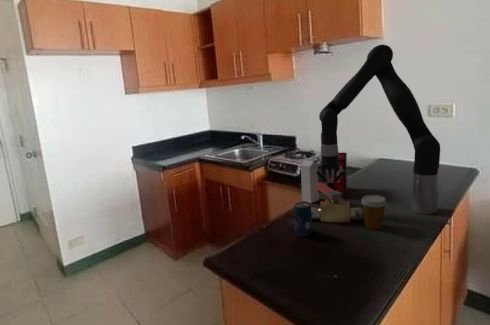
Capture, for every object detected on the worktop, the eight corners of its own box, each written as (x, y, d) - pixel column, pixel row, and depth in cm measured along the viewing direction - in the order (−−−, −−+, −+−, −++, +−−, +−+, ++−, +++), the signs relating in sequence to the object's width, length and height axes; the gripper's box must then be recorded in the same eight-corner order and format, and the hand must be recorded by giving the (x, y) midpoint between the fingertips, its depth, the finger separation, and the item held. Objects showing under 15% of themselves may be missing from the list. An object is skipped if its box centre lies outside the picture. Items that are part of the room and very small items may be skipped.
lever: (341, 199, 142) (341, 193, 141) (332, 201, 141) (332, 195, 140) (323, 187, 159) (322, 181, 159) (314, 188, 159) (314, 183, 158)
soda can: (291, 231, 137) (290, 203, 134) (305, 227, 140) (304, 200, 137) (300, 238, 131) (299, 209, 128) (315, 233, 134) (314, 205, 131)
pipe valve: (360, 215, 147) (360, 195, 144) (362, 222, 140) (362, 201, 138) (302, 215, 152) (301, 195, 150) (302, 221, 145) (301, 201, 143)
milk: (310, 203, 166) (309, 160, 161) (301, 200, 171) (300, 158, 165) (319, 200, 169) (317, 157, 164) (310, 197, 174) (308, 156, 169)
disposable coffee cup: (385, 222, 139) (385, 194, 136) (386, 232, 130) (387, 203, 127) (361, 220, 142) (361, 194, 139) (361, 230, 133) (361, 202, 130)
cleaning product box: (330, 187, 187) (329, 152, 182) (346, 188, 184) (346, 152, 179) (327, 197, 172) (326, 159, 167) (345, 198, 169) (345, 159, 164)
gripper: (345, 151, 151) (346, 187, 155) (315, 151, 155) (317, 187, 159) (344, 155, 144) (345, 193, 148) (313, 155, 149) (315, 192, 153)
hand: (331, 190), depth 154 cm, fingers closed
